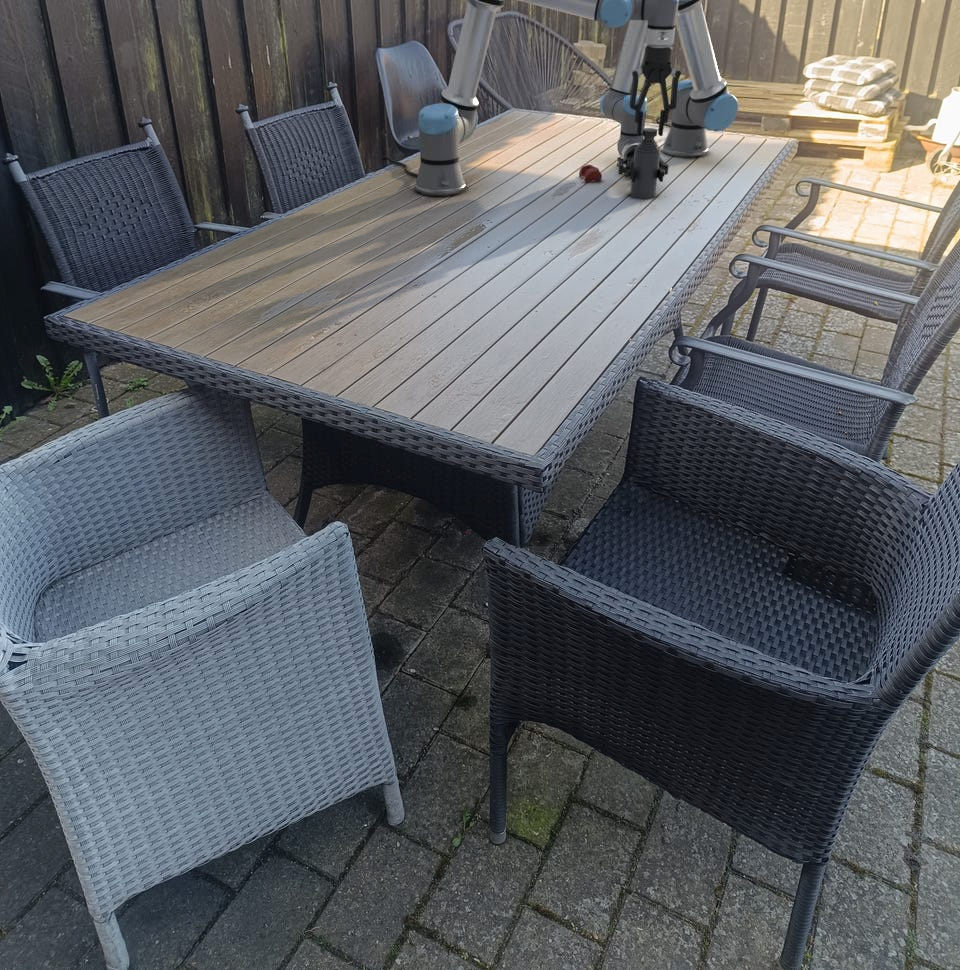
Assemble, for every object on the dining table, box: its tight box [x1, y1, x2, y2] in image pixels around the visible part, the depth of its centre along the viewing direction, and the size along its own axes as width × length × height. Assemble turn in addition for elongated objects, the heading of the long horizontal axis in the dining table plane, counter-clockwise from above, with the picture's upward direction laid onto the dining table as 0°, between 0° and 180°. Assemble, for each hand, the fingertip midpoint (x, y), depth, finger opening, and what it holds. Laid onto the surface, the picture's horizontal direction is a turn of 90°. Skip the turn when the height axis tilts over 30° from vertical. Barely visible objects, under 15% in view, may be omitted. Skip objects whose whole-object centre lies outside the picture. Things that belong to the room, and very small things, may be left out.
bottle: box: [629, 136, 661, 200], centre depth 249 cm, size 7×7×18 cm
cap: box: [642, 127, 658, 138], centre depth 244 cm, size 4×4×2 cm
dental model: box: [578, 164, 603, 183], centre depth 266 cm, size 6×4×8 cm
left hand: (649, 134), depth 244 cm, fingers open, 6 cm apart
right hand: (648, 177), depth 246 cm, fingers closed on bottle, 7 cm apart
